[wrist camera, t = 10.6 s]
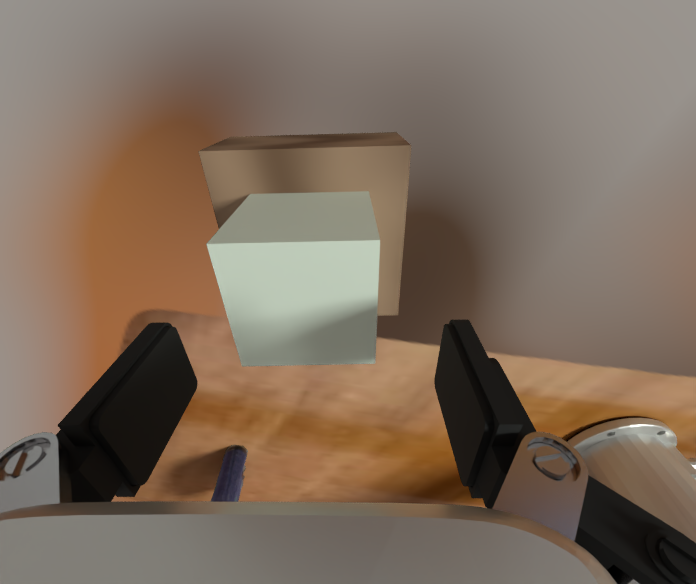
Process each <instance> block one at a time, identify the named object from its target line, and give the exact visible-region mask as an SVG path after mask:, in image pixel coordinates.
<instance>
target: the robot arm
mask: <svg viewBox="0 0 696 584" xmlns="http://www.w3.org/2000/svg"><path fill="white" fill-rule="evenodd" d="M196 389H197V379H196V376H195V374H194V371H193V369H192V366H191V364H190V361H189V359H188V356H187V354H186V351H185V349H184V346H183V344H182V341H181V339H180V336H179V334H178V331H177V329H176V328H175V327H172V325H171V324H170V323H150V324H148V325H147V326H146V327H145V329H144V330H143V331H142V332H141V333H140V334H139V335H138V336H137V337H136V339H135V340H134V341H133V342H132V343H131V344H130V345H129V346H128V347H127V349H126V350H125V351H124V352H123V353H122V354H121V355H120V356H119V357H118V359H117V360H116V361H115V362H114V363H113V364H112V365H111V366H110V367H109V369H108V370H107V371H106V372H105V373H104V374H103V375H102V376H101V378H100V379H99V380H98V381H97V382H96V383H95V384H94V385H93V386H92V388H91V389H90V390H89V391H88V392H87V393H86V394H85V395H84V397H83V398H82V399H81V400H80V401H79V402H78V403H77V404H76V405H75V407H74V408H73V409H72V410H71V411H70V412H69V413H68V414H67V415H66V417H65V418H64V419H63V420H62V421H61V422H60V423H59V424H58V427H60V429H61V430H60V431H59V432H58V433H57V434H56V435H54V434H53V433H47V432H43V433H38V434H33V435H31V436H28V437H25V438H23V439H21V440H19V441H18V442H16V443H14V444H12V445H11V446H9V447H8V448H6V449H5V450H4V451H2V452H1V453H0V584H696V458H689V459H686V458H685V457H684V456H683V455H682V454H681V453H680V452H679V451H678V450H677V448H676V445H677V437H676V435H675V434H674V432H673V431H672V430H671V429H670V428H669V427H668V426H667V425H666V424H664V423H662V422H660V421H658V420H654V419H649V418H625V419H618V420H614V421H609V422H605V423H602V424H599V425H596V426H594V427H591V428H589V429H587V430H584V431H583V432H581V433H579V434H577V435H575V436H574V437H573V438H571V439H570V440H568V441H567V442H566V441H565V440H563V439H561V438H560V437H557V436H555V435H553V434H550V433H545V432H536V430H535V428H534V426H533V424H532V422H531V421H530V419H529V417H528V415H527V413H526V411H525V410H524V408H523V406H522V404H521V402H520V400H519V399H518V397H517V395H516V393H515V391H514V389H513V388H512V386H511V384H510V382H509V380H508V378H507V377H506V375H505V373H504V371H503V369H502V367H501V366H500V364H499V362H498V361H497V360H496V359H495V358H488V356H487V354H486V352H485V350H484V348H483V346H482V344H481V342H480V340H479V338H478V336H477V334H476V333H475V331H474V329H473V327H472V325H471V323H470V321H469V320H451V321H450V323H449V324H445V325H444V329H443V334H442V340H441V346H440V351H439V357H438V363H437V368H436V374H435V389H436V393H437V396H438V400H439V404H440V407H441V411H442V414H443V418H444V421H445V425H446V429H447V432H448V436H449V439H450V443H451V446H452V450H453V454H454V457H455V461H456V464H457V468H458V471H459V475H460V479H461V482H462V484H463V486H469V490H470V493H471V497H472V498H483V500H484V504H485V506H486V507H487V508H482V507H474V506H462V505H449V504H414V503H353V502H111V501H112V499H113V497H114V496H115V495H116V496H117V497H135V495H136V493H137V491H138V490H139V488H140V486H141V485H143V484H145V483H146V482H147V480H148V479H149V477H150V475H151V473H152V471H153V469H154V467H155V466H156V464H157V462H158V460H159V458H160V456H161V454H162V452H163V451H164V449H165V447H166V445H167V443H168V441H169V439H170V438H171V436H172V434H173V432H174V430H175V428H176V426H177V424H178V423H179V421H180V419H181V417H182V415H183V413H184V411H185V410H186V408H187V406H188V404H189V402H190V400H191V398H192V396H193V395H194V393H195V391H196Z"/></svg>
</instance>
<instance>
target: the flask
mask: <svg viewBox="0 0 696 584" xmlns="http://www.w3.org/2000/svg"><path fill="white" fill-rule="evenodd" d="M247 452H248V451H247V449H246V448H244V446H239V445H231V446H230V447H228V449H227V450H226V452H225V454H224V458H223V463H222V467H221V470H220V473H219V476H218V479H217V483H216V487H215V490H214V493H213V496H212V499H211V502H238V500H239V496H240V492H241V488H242V486H243V479H244V477H243V472H244V471H245V469H246V468H245V466H244V464H245V462H246V461H245V460H246V457H247Z"/></svg>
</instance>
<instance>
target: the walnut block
mask: <svg viewBox="0 0 696 584" xmlns="http://www.w3.org/2000/svg"><path fill="white" fill-rule="evenodd" d="M199 155H200V159H201V163H202V167H203V171H204V174H205V178H206V182H207V186H208V189H209V193H210V197H211V200H212V204H213V208H214V212H215V216H216V220H217V223H218V227H219V229H220V228H221V227H222V225H223V224H224V223H225V222H226V221H227V220H228V219H229V217H230V216H231V215H232V214H233V213H234V212H235V211H236V209H237V208H238V207H239V206H240V205H241V204H242V203H243V201H244V200H245V199H246V198H247V197H248V196H249V195H250V194H271V193H316V192H361V191H369V195H370V199H371V203H372V207H373V212H374V216H375V220H376V224H377V229H378V233H379V237H380V258H379V282H378V307H377V315H398V305H399V294H400V281H401V280H400V279H401V268H402V256H403V243H404V231H405V218H406V206H407V193H408V181H409V168H410V156H411V145H410V144H409V143H408V142H407V141H406V140H405V139H404V138H402V137H401V136H400V135H399V134H398V133H397V132H387V133H352V134H318V135H281V136H246V137H229V138H227V139H225V140H223V141H221V142H219V143H216V144H214V145H212V146H209V147H207V148H205V149H202V150H200V151H199Z"/></svg>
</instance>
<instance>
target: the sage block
mask: <svg viewBox="0 0 696 584" xmlns="http://www.w3.org/2000/svg"><path fill="white" fill-rule="evenodd" d="M206 245H207V248H208V251H209V255H210V258H211V262H212V265H213V269H214V272H215V275H216V279H217V282H218V286H219V289H220V293H221V296H222V299H223V303H224V306H225V310H226V313H227V317H228V320H229V323H230V327H231V330H232V334H233V337H234V340H235V344H236V347H237V351H238V354H239V358H240V361H241V364H242V366H285V365H332V364H375V356H376V331H377V329H376V328H377V307H378V282H379V258H380V237H379V233H378V229H377V224H376V220H375V216H374V212H373V207H372V203H371V199H370V195H369V191H361V192H316V193H271V194H250V195H249V196H248V197H247V198H246V199H245V200H244V201H243V203H242V204H241V205H240V206H239V207H238V208H237V209H236V211H235V212H234V213H233V214H232V215H231V216H230V217H229V219H228V220H227V221H226V222H225V223H224V224H223V225H222V227H221V228H220V229H219V230H218V231H217V232H216V233H215V235H214V236H213V237H212V238H211V239H210V240H209V241H208V243H207V244H206Z"/></svg>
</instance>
